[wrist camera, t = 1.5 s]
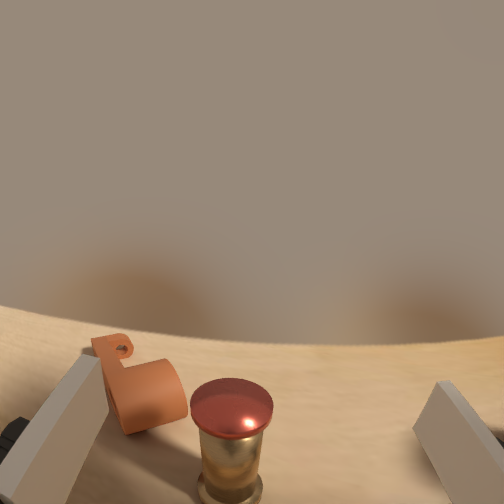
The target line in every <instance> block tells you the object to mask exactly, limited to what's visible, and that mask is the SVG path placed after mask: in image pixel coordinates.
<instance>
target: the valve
mask: <svg viewBox="0 0 504 504" xmlns="http://www.w3.org/2000/svg"><path fill="white" fill-rule="evenodd" d="M190 408H191V416H192V419H193V421H194V423H195V424H196V425H197V426H198V427H199V435H200V446H201V457H202V466H203V472H202V473H201V474H200V476H199V479H198V492H199V497H200V500H201V501H202V503H203V504H258V503H259V501H260V499H261V494H262V489H263V484H262V480H261V478H260V476H259V474H258V467H259V459H260V452H261V445H262V437H263V430H264V429H265V428H266V427H267V426H268V425H269V423H270V421H271V419H272V413H273V401H272V398H271V396H270V395H269V393H268V392H267V391H266V390H265V389H264V388H262V387H261V386H259V385H258V384H256V383H253V382H251V381H248V380H244V379H238V378H222V379H216V380H212V381H210V382H207V383H205V384H203V385H202V386H200V387H199V388H198V389H197V390H196V391H195V392H194V393H193V395H192V397H191V400H190Z"/></svg>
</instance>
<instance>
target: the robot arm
mask: <svg viewBox="0 0 504 504" xmlns="http://www.w3.org/2000/svg"><path fill="white" fill-rule="evenodd" d="M108 413H109V407H108V402H107V397H106V391H105V386H104V380H103V374H102V367H101V361H100V358H98V357H94V356H90V355H86V354H82V355H81V356H80V357H79V358H78V359H77V361H76V362H75V363H74V365H73V366H72V367H71V368H70V370H69V371H68V372H67V373H66V375H65V376H64V377H63V379H62V380H61V381H60V382H59V384H58V385H57V386H56V388H55V389H54V390H53V392H52V393H51V394H50V395H49V397H48V398H47V399H46V401H45V402H44V403H43V405H42V406H41V407H40V409H39V410H38V412H37V413H36V414H35V416H34V417H33V418H32V420H31V421H29V420H27V419H24V418H22V417H19V418H17V419H16V420H14V421H12V422H11V423H9V424H8V425H7V427H6V428H5V429H4V430H3V432H2V433H1V436H0V504H65V503H66V501H67V499H68V496H69V494H70V492H71V490H72V487H73V485H74V483H75V481H76V479H77V477H78V474H79V472H80V470H81V468H82V466H83V464H84V462H85V460H86V457H87V455H88V453H89V451H90V449H91V447H92V445H93V443H94V441H95V439H96V437H97V435H98V433H99V431H100V429H101V427H102V425H103V423H104V421H105V419H106V417H107V415H108ZM412 429H413V430H414V432H415V434H416V436H417V438H418V439H419V441H420V443H421V445H422V447H423V448H424V450H425V452H426V454H427V456H428V458H429V460H430V461H431V463H432V465H433V467H434V469H435V471H436V473H437V475H438V477H439V479H440V480H441V482H442V484H443V486H444V488H445V490H446V492H447V494H448V496H449V498H450V500H451V502H452V504H504V442H502V441H501V440H500V439H498V438H497V437H496V438H495V436H494V435H493V434H492V432H491V431H490V430H489V429H488V427H487V426H486V425H485V423H484V422H483V421H482V420H481V418H480V417H479V416H478V414H477V413H476V412H475V411H474V409H473V408H472V407H471V406H470V404H469V403H468V402H467V401H466V399H465V398H464V397H463V396H462V394H461V393H460V392H459V391H458V390H457V388H456V387H455V386H454V385H453V383H452V382H451V381H450V380H449V381H440V382H437V383H436V385H435V387H434V389H433V391H432V393H431V395H430V397H429V399H428V401H427V403H426V405H425V407H424V409H423V410H422V412H421V414H420V416H419V418H418V420H417V421H416V423H415V425H414V427H413V428H412Z"/></svg>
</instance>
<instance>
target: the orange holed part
mask: <svg viewBox="0 0 504 504" xmlns="http://www.w3.org/2000/svg"><path fill="white" fill-rule="evenodd" d="M91 342H92V347H93V351H94V356H95V357H98V358H100V361H101V367H102V374H103V380H104V385H105V388H106V391H107V393H108V396H109V398H110V401H111V404H112V406H113V408H114V411H115V413H116V416H117V418H118V420H119V423H120V425H121V427H122V430H123V432H124V434H125V435H128V434H131V433H135V432H139V431H142V430H146V429H149V428H153V427H156V426H160V425H163V424H166V423H169V422H173V421H176V420H179V419H182V418H185V417H187V415H188V406H187V401H186V397H185V393H184V390H183V387H182V384H181V382H180V379H179V377H178V375H177V373H176V371H175V369H174V367H173V366H172V364H171V363H170V362H169V361H168V360H167V359H160V360H156V361H152V362H148V363H144V364H140V365H136V366H132V367H127V368H124V367H123V365H122V363H121V362H120V360H119V359H124V358H128V357H130V356H131V354H132V353H133V350H134V347H133V344H132V343H131V341H130V339H129V337H128V336H127V335H125V334H121V333H118V334H113V335H108V336H102V337H97V338H92V339H91ZM119 345H124V347H123V348H122V349H116V348H117V347H118V346H119Z"/></svg>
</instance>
